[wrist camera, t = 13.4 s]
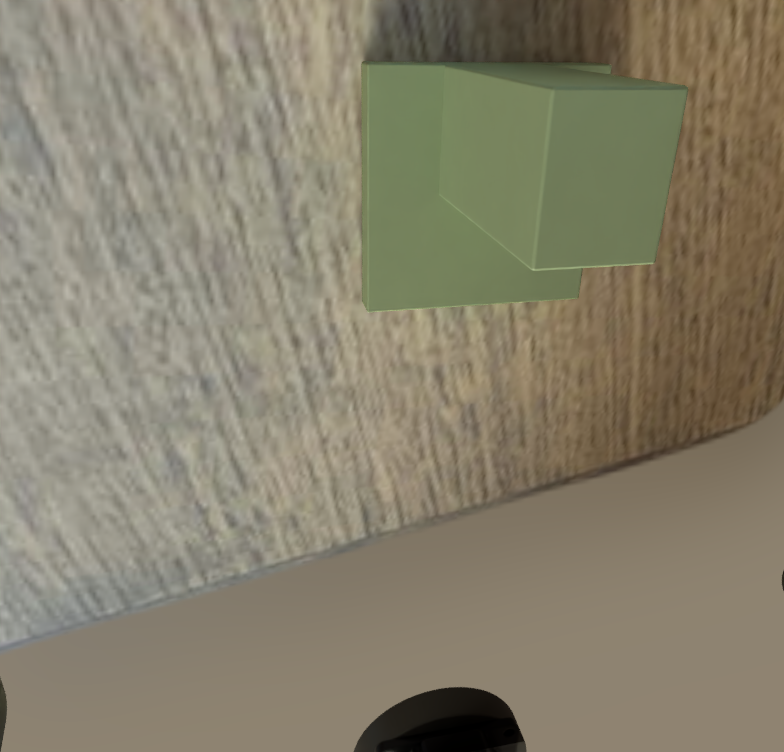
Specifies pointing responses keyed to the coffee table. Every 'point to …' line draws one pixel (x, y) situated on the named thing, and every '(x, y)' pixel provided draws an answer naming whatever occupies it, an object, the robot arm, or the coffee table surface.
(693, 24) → the coffee table surface
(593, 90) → the green stepped block
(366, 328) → the coffee table surface
